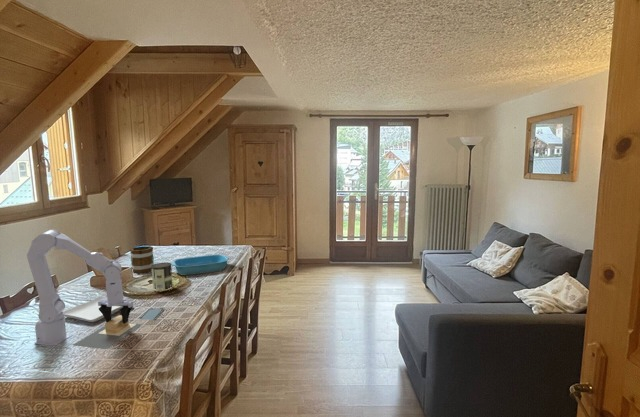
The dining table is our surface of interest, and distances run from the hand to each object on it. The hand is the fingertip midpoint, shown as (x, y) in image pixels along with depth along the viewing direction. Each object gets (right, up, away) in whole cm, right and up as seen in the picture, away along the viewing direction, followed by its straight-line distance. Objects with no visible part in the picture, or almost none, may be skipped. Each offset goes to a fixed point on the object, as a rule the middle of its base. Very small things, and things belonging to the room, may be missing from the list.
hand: (117, 322), depth 143 cm
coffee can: (-3, +3, +47) cm, 47 cm away
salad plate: (-19, -2, +17) cm, 26 cm away
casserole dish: (+7, +7, +82) cm, 83 cm away
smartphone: (+7, -2, +13) cm, 15 cm away
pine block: (0, -3, 0) cm, 3 cm away
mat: (-1, -4, -4) cm, 6 cm away
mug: (-32, +7, +84) cm, 90 cm away
